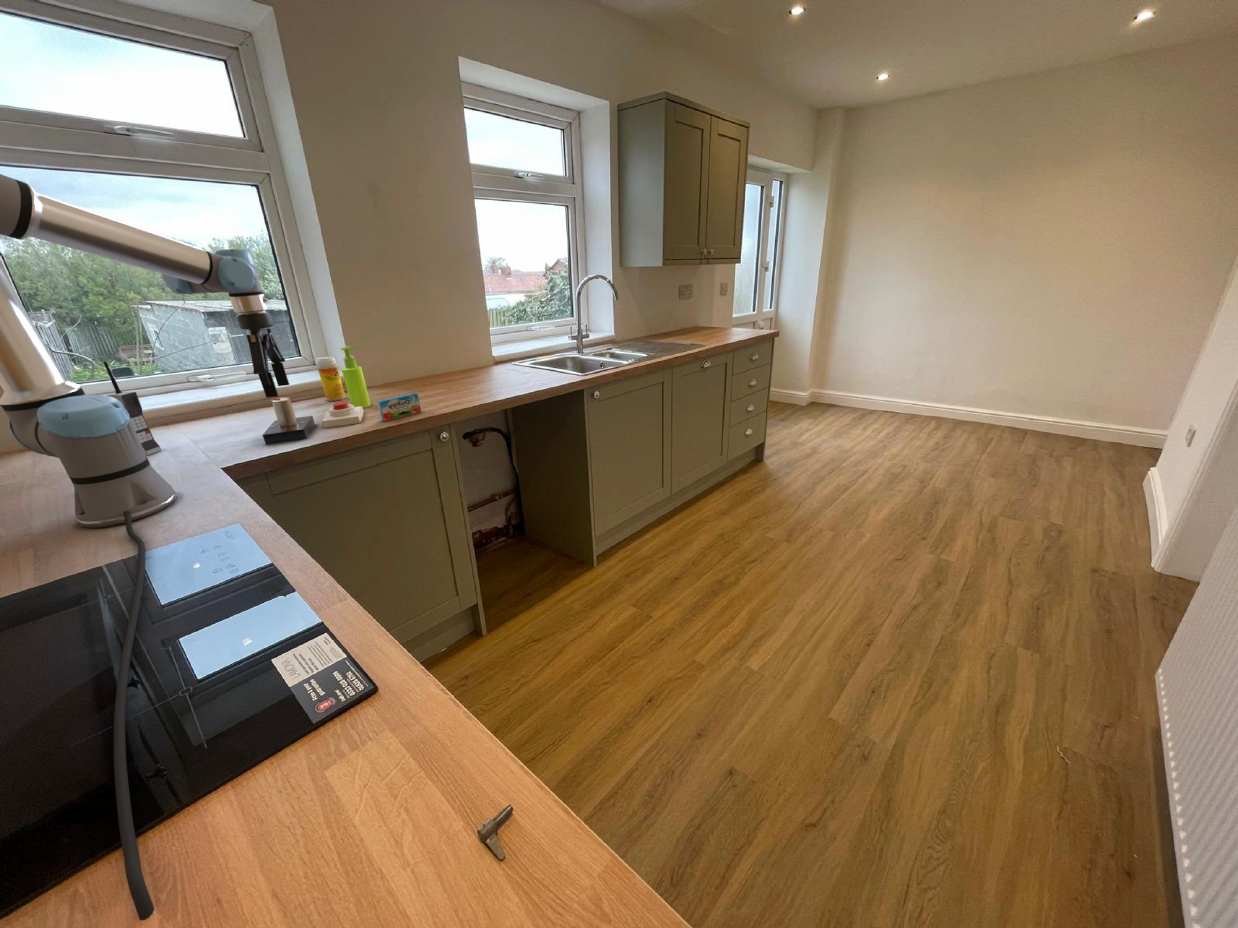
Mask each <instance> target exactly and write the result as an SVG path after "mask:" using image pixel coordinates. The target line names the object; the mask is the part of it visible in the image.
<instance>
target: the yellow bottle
mask: <svg viewBox="0 0 1238 928" xmlns="http://www.w3.org/2000/svg"><path fill="white" fill-rule="evenodd" d="M315 365H316V367H317V371H318V375H319V378H320V381H321V386H322V389H323V392H324V395H325V399H326V400H328V402H338V401H342V400H344V399H345V397H346V393H345V389H344V386H343V382H342V379H341V375H340V371H339V367H338V364H337V361H336V358H335V357H334V356H333V355H326V356H320V357H316V360H315Z"/></svg>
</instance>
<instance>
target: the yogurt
mask: <svg viewBox="0 0 1238 928" xmlns="http://www.w3.org/2000/svg"><path fill="white" fill-rule="evenodd" d="M377 405H378V409H379V414H380V418H381V421H383V422H388V421H392V420H395V419H399V418H403V417H408V416H410V415H415V414H420V413H422V408H421V402H420V399H419V394H418V393H416V392H412V393H408V394H404V395H399V396H396V397H395V396H394V397H391V398H387V399H382V400H378V401H377Z"/></svg>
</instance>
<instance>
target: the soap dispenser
mask: <svg viewBox="0 0 1238 928" xmlns="http://www.w3.org/2000/svg"><path fill="white" fill-rule="evenodd" d="M359 348H360V346H359V345H348V346H347V345H346V346H343V347H341V348H340V350H341V351H344V357H342V359H343V363H344V367H343V368H342V369H341V373H342V376H343V380H344V384H345V388H346V391H347V394H348V395H347V396H348V398H349V402H350V405H354V407H359V406H362V408H363V409H365V408H368V407H370V406H371V405H372V404H371V400H370V397H369V392H368V388H367V384H366V379H365V376H364V372H363V369H362V366H360V365H357V361H356V357H355V356H353V355H352V353H351V349H352V350H353V349H359Z"/></svg>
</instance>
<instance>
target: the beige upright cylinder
mask: <svg viewBox="0 0 1238 928" xmlns="http://www.w3.org/2000/svg"><path fill="white" fill-rule="evenodd" d="M270 401H271V404H272V407H273V411H274V412H275V416H276V420H278V422H279V425H280V427H288V426H293V425H295V424H297V420H296V418H297V416H296V414H295V411H294V408H293V405H292V401H291V398H290V397H288V396H287V397H286V396H285V397H278V398H272V399H270Z"/></svg>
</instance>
